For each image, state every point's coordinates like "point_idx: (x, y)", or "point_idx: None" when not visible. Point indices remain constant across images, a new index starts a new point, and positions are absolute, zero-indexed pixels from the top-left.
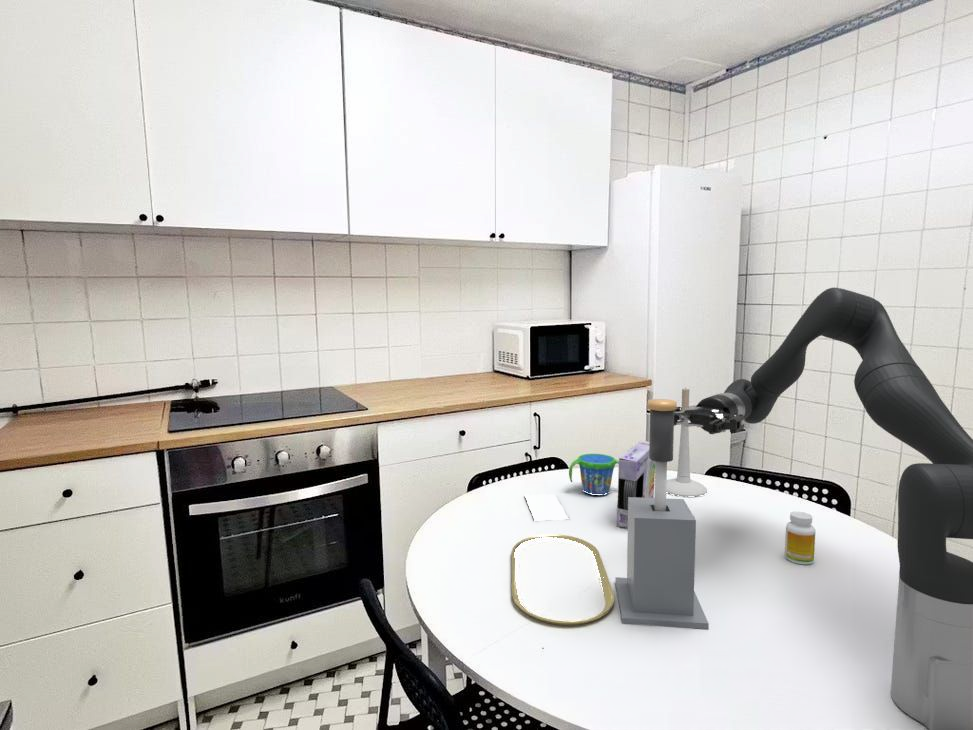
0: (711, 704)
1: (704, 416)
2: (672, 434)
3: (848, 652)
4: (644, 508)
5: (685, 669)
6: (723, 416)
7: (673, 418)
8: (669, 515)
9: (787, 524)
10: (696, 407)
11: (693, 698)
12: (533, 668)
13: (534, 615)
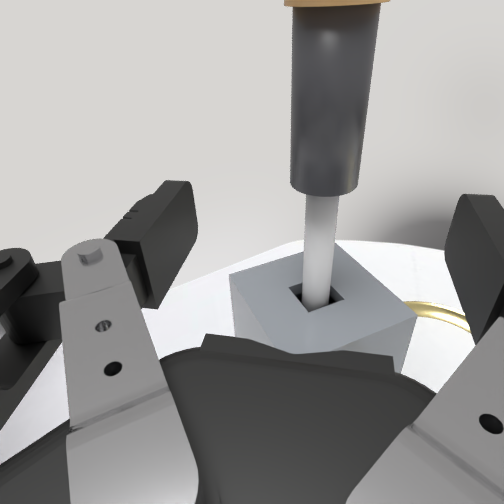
0: (203, 290)
1: (259, 352)
2: (291, 100)
3: (23, 442)
4: (342, 278)
5: (232, 316)
6: (29, 448)
7: (292, 43)
8: (282, 272)
9: None
10: (480, 492)
11: (218, 289)
12: (357, 260)
13: (417, 301)
